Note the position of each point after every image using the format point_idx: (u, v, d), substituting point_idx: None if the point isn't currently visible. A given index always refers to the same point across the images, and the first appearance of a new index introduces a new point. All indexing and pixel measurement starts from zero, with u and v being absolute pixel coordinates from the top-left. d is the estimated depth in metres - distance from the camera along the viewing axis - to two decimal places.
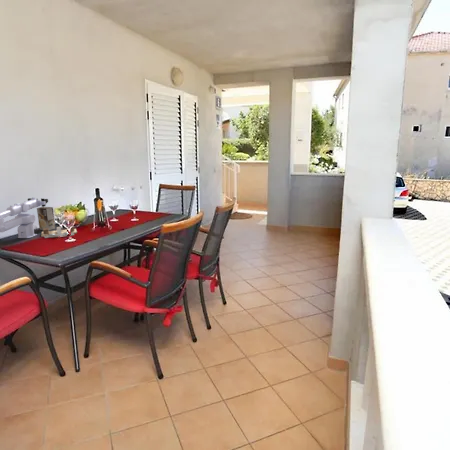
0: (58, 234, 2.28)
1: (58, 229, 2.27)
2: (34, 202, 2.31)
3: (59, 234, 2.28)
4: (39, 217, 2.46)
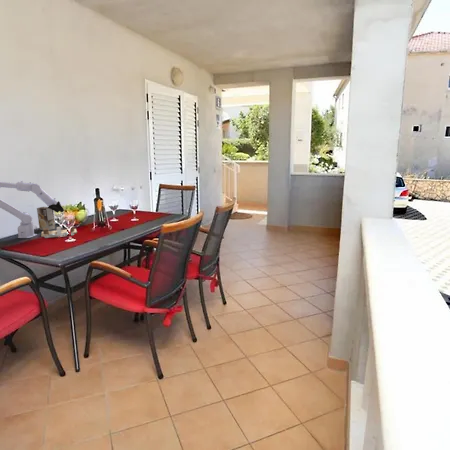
0: (58, 234, 2.28)
1: (58, 229, 2.27)
2: (49, 197, 2.31)
3: (59, 234, 2.28)
4: (39, 217, 2.46)
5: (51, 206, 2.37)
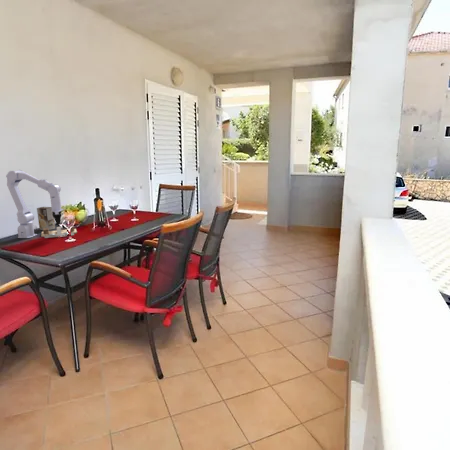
0: (58, 234, 2.28)
1: (58, 229, 2.27)
2: (58, 205, 2.23)
3: (59, 234, 2.28)
4: (39, 217, 2.46)
5: None
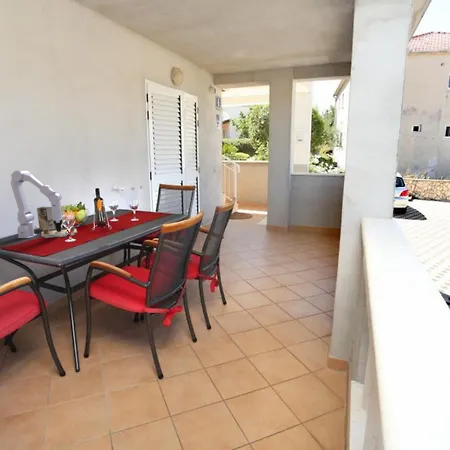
0: (58, 234, 2.28)
1: None
2: (59, 213, 2.24)
3: (59, 234, 2.28)
4: (39, 217, 2.46)
5: None
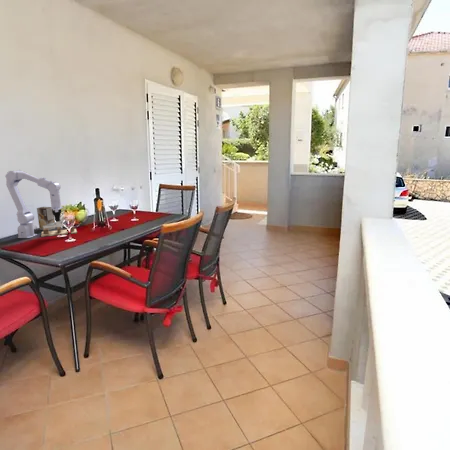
0: (57, 224, 2.26)
1: None
2: (57, 203, 2.23)
3: (58, 224, 2.27)
4: (39, 217, 2.46)
5: (55, 211, 2.27)
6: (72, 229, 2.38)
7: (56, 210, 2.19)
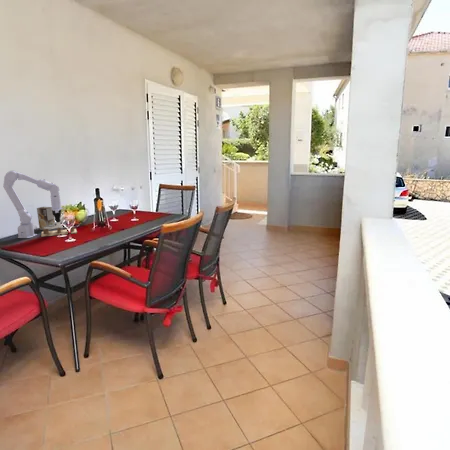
0: (57, 225, 2.35)
1: None
2: (58, 204, 2.31)
3: (58, 225, 2.35)
4: (39, 217, 2.46)
5: None
6: (72, 229, 2.38)
7: (56, 211, 2.27)
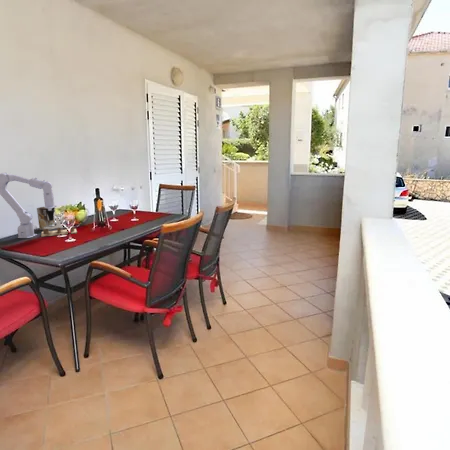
0: (57, 225, 2.35)
1: (57, 220, 2.34)
2: (51, 202, 2.28)
3: (58, 225, 2.35)
4: (39, 217, 2.46)
5: None
6: (72, 229, 2.38)
7: (49, 209, 2.24)
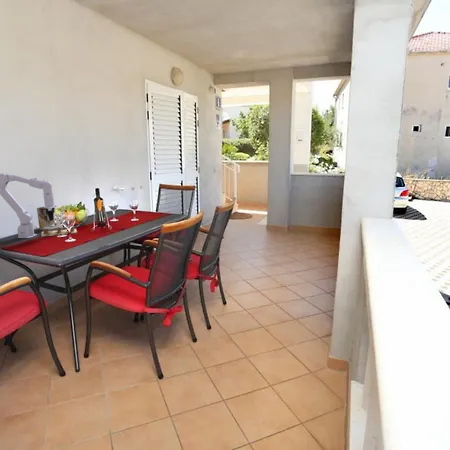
0: (57, 225, 2.35)
1: (57, 220, 2.34)
2: (51, 202, 2.28)
3: (58, 225, 2.35)
4: (39, 217, 2.46)
5: None
6: (72, 229, 2.38)
7: (49, 209, 2.24)
